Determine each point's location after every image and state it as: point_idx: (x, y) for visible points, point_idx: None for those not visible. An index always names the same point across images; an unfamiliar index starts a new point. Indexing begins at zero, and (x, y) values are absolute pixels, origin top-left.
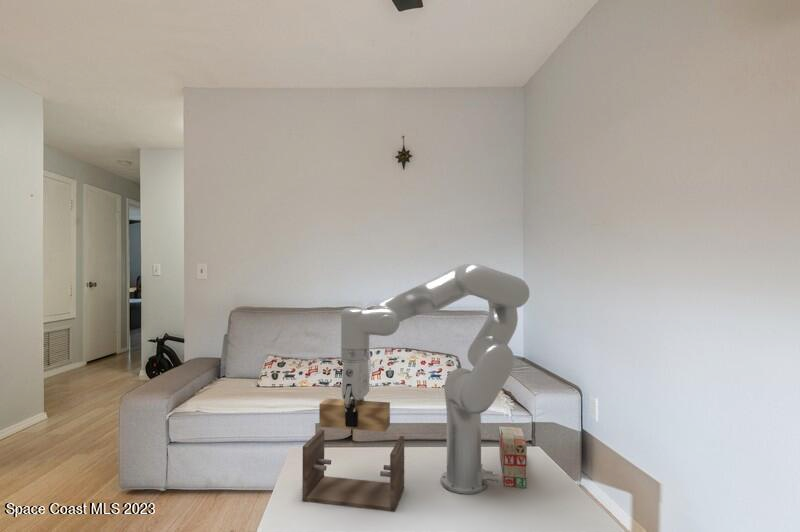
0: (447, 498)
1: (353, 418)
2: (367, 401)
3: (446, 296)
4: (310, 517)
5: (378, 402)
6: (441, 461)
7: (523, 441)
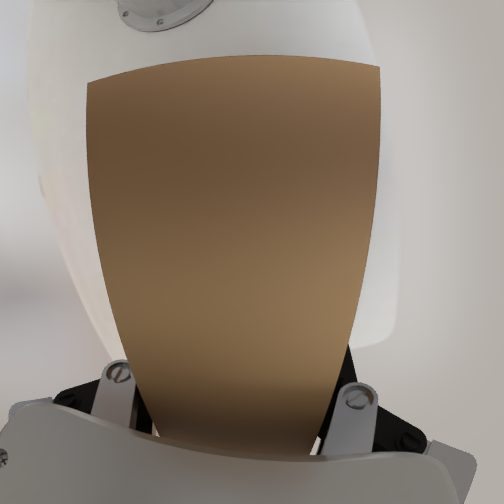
0: (245, 3)
1: (349, 360)
2: (140, 359)
3: None
4: (373, 282)
5: (122, 235)
6: (76, 66)
7: None
